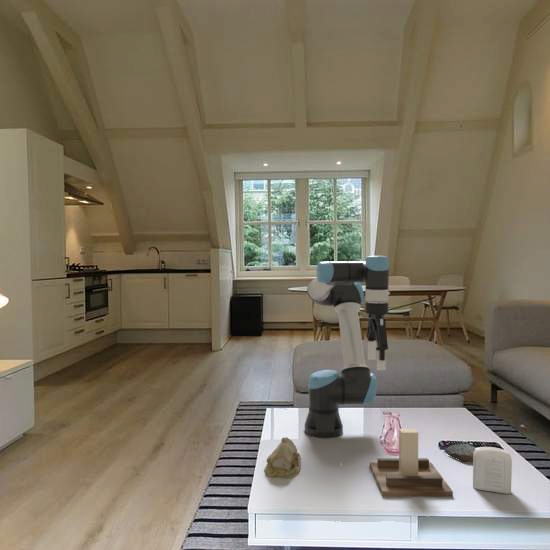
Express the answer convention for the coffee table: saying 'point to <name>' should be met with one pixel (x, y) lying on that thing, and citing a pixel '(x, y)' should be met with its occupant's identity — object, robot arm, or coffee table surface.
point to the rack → (408, 479)
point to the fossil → (461, 452)
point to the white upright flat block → (492, 470)
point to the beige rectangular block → (408, 452)
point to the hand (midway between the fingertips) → (376, 364)
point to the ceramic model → (283, 460)
